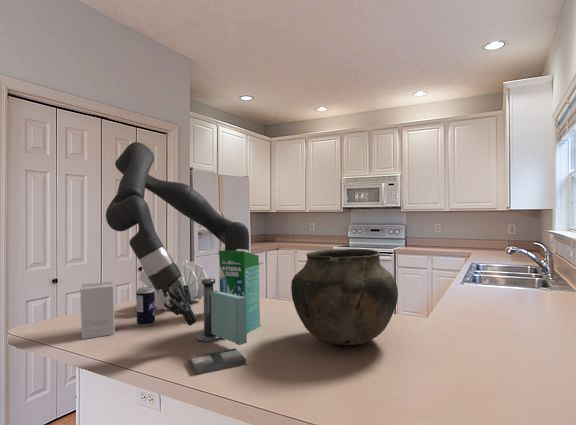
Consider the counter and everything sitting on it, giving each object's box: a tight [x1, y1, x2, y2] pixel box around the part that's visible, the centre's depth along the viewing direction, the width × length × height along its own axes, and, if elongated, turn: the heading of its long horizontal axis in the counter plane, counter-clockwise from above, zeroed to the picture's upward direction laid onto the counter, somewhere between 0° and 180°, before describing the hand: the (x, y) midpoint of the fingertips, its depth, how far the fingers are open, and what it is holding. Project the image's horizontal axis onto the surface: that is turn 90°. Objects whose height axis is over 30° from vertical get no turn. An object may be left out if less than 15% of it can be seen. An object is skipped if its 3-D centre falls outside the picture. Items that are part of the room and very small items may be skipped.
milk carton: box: [218, 249, 261, 334], centre depth 115 cm, size 9×9×25 cm
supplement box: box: [79, 281, 116, 340], centre depth 113 cm, size 9×9×15 cm
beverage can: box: [135, 286, 156, 327], centre depth 121 cm, size 6×6×12 cm
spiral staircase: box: [138, 259, 209, 311], centre depth 147 cm, size 18×18×25 cm
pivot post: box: [196, 277, 222, 343], centre depth 106 cm, size 7×7×17 cm
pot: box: [290, 248, 399, 346], centre depth 101 cm, size 29×32×25 cm
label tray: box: [187, 348, 247, 376], centre depth 88 cm, size 12×8×2 cm, turn 117°
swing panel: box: [211, 290, 248, 346], centre depth 100 cm, size 14×2×12 cm, turn 45°
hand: (193, 323), depth 98 cm, fingers closed
